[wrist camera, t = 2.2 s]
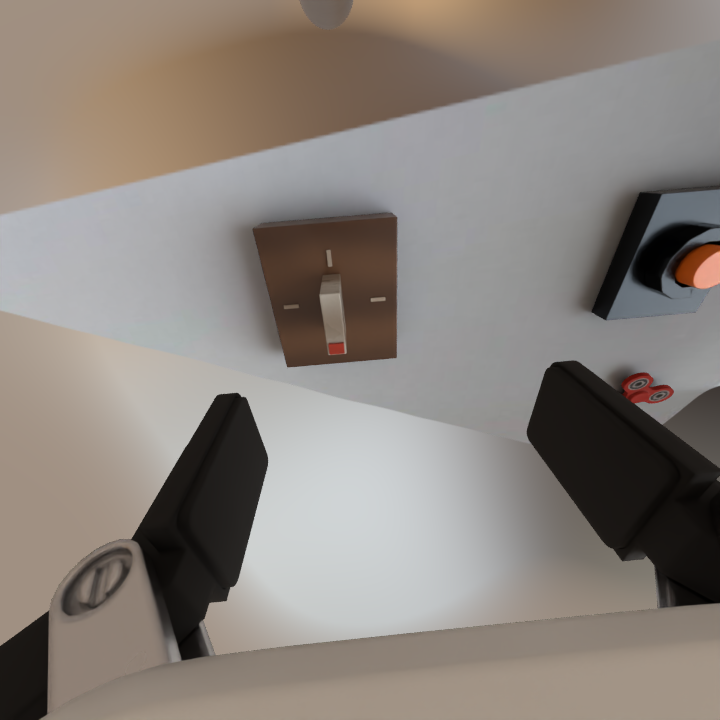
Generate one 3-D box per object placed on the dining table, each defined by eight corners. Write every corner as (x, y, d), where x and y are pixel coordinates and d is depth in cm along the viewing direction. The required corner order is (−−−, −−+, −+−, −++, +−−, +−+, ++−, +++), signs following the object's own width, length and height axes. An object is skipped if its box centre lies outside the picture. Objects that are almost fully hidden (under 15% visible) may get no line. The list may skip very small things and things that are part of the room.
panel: (260, 223, 26) (251, 228, 24) (391, 212, 26) (397, 216, 24) (291, 353, 34) (287, 368, 31) (392, 344, 34) (396, 358, 31)
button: (687, 245, 26) (708, 250, 24) (726, 242, 26) (749, 246, 24) (666, 284, 28) (685, 290, 26) (703, 281, 28) (723, 287, 26)
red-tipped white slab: (322, 274, 26) (318, 295, 22) (340, 273, 26) (340, 294, 22) (329, 329, 29) (328, 357, 25) (345, 327, 29) (346, 355, 25)
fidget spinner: (646, 374, 36) (639, 367, 37) (590, 406, 40) (585, 399, 41) (681, 395, 38) (673, 387, 39) (624, 423, 43) (618, 416, 44)
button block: (639, 192, 27) (682, 195, 23) (746, 183, 27) (804, 185, 23) (591, 312, 33) (619, 327, 30) (676, 304, 33) (713, 319, 30)
